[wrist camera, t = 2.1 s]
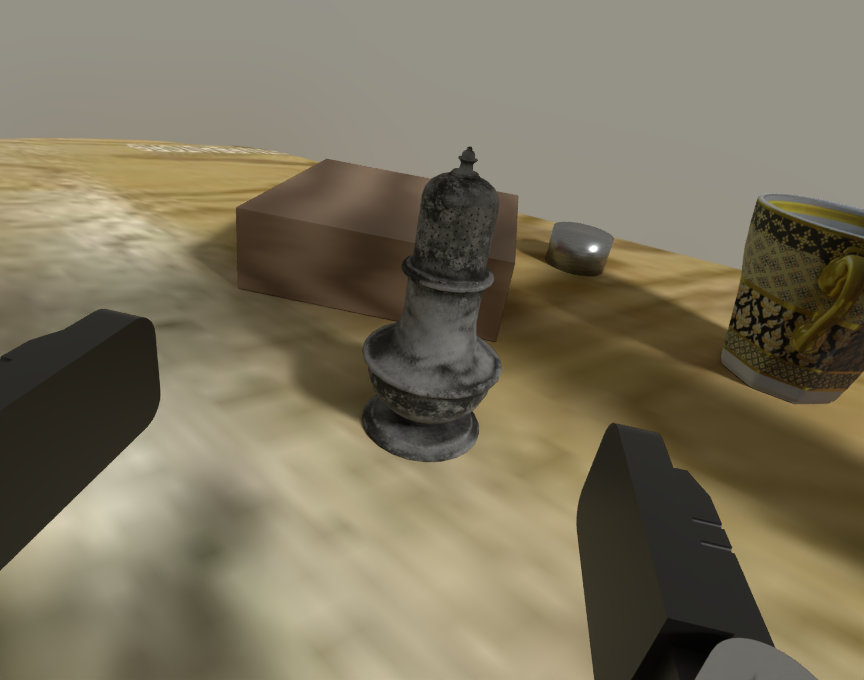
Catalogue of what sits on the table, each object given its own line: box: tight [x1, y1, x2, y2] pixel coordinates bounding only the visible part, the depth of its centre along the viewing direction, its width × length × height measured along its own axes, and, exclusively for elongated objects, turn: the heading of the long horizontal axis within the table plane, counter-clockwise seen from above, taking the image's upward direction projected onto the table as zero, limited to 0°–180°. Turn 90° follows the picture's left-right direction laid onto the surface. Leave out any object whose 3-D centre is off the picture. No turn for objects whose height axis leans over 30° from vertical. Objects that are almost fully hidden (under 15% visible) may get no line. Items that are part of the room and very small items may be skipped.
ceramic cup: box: [721, 193, 864, 404], centre depth 31 cm, size 13×10×10 cm
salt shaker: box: [362, 147, 502, 462], centre depth 22 cm, size 6×6×12 cm
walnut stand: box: [236, 159, 518, 342], centre depth 38 cm, size 16×16×5 cm
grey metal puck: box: [545, 222, 614, 276], centre depth 46 cm, size 5×5×3 cm
